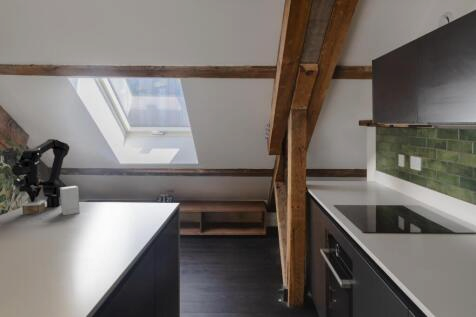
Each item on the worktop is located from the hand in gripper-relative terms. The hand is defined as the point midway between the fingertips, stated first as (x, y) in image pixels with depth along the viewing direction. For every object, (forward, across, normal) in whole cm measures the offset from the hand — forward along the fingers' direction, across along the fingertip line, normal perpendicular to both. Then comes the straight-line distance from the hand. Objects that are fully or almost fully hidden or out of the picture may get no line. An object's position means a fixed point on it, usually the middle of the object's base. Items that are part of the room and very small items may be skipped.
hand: (33, 201), depth 175 cm
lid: (+1, 0, 0) cm, 1 cm away
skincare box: (+7, +2, +19) cm, 20 cm away
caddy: (+6, 0, 0) cm, 6 cm away
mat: (+7, +6, +3) cm, 9 cm away
